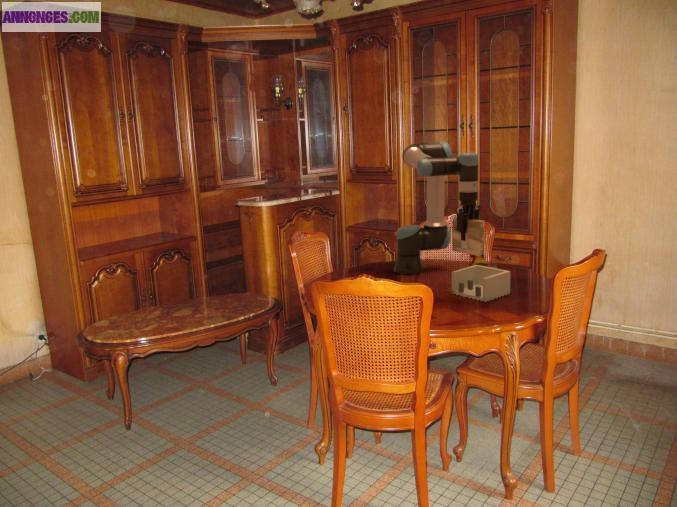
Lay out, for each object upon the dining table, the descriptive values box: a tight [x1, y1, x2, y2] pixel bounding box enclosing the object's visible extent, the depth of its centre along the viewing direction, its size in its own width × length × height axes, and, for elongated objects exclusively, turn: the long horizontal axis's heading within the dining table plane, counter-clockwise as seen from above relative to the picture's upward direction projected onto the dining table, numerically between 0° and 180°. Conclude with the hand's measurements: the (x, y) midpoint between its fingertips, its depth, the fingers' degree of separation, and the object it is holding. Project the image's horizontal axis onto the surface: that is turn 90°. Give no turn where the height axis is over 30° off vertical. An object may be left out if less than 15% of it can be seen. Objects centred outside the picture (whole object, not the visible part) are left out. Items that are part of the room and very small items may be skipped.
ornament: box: [468, 254, 489, 267], centre depth 292 cm, size 21×8×15 cm, turn 0°
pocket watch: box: [490, 260, 499, 269], centre depth 268 cm, size 8×8×10 cm
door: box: [451, 217, 485, 256], centre depth 240 cm, size 5×14×14 cm, turn 38°
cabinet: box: [451, 265, 511, 303], centre depth 250 cm, size 17×18×10 cm
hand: (467, 247), depth 242 cm, fingers closed on door, 3 cm apart
